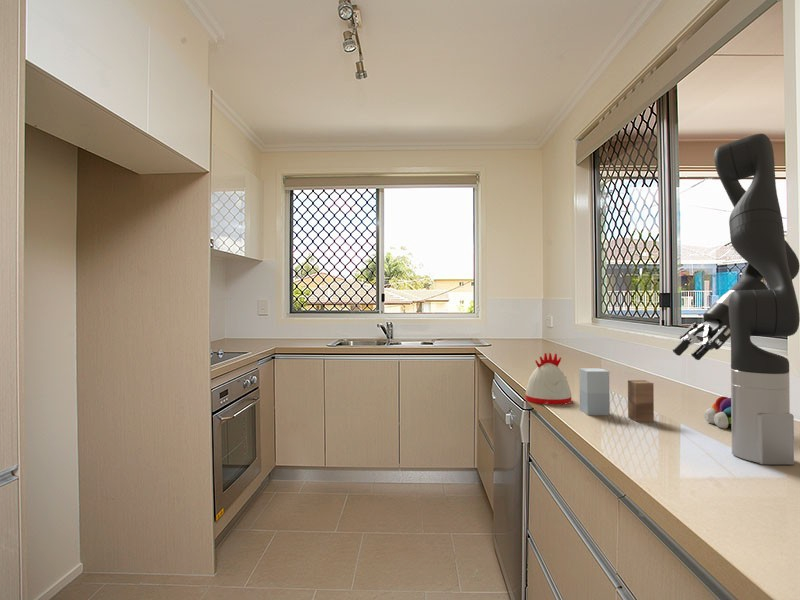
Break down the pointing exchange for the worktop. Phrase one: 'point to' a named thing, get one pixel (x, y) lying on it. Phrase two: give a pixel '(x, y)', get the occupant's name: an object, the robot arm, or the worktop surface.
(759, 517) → the worktop surface
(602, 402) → the tower base
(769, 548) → the worktop surface
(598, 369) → the tower top
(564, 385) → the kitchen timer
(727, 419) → the multicoloured plush toy
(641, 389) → the walnut post
